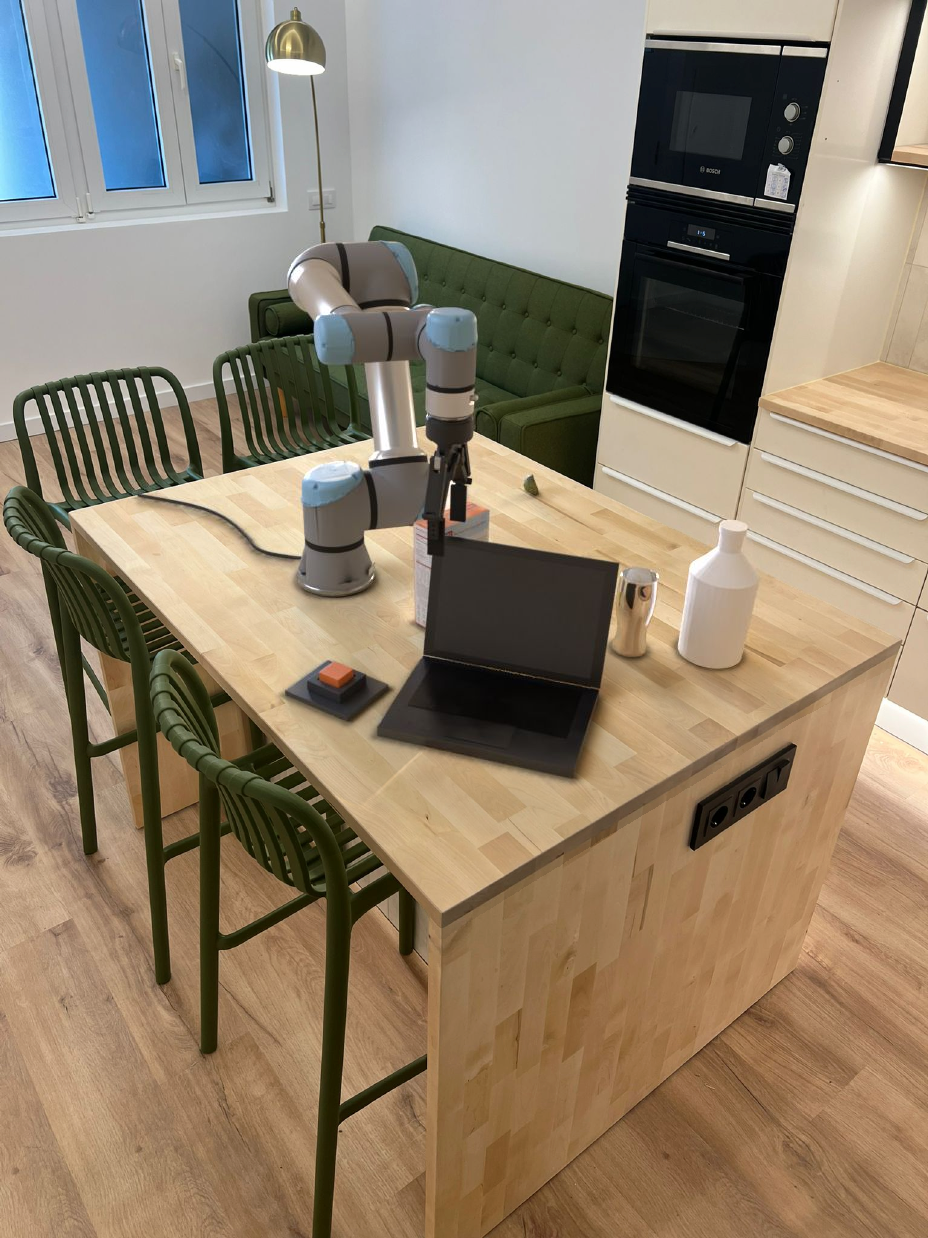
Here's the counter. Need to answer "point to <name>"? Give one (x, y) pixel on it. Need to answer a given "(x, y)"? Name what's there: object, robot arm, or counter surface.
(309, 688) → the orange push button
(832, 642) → the counter surface
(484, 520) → the cracker box
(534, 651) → the laptop screen
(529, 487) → the lime
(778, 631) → the counter surface
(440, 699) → the laptop
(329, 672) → the key
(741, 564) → the bottle
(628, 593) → the beer glass
